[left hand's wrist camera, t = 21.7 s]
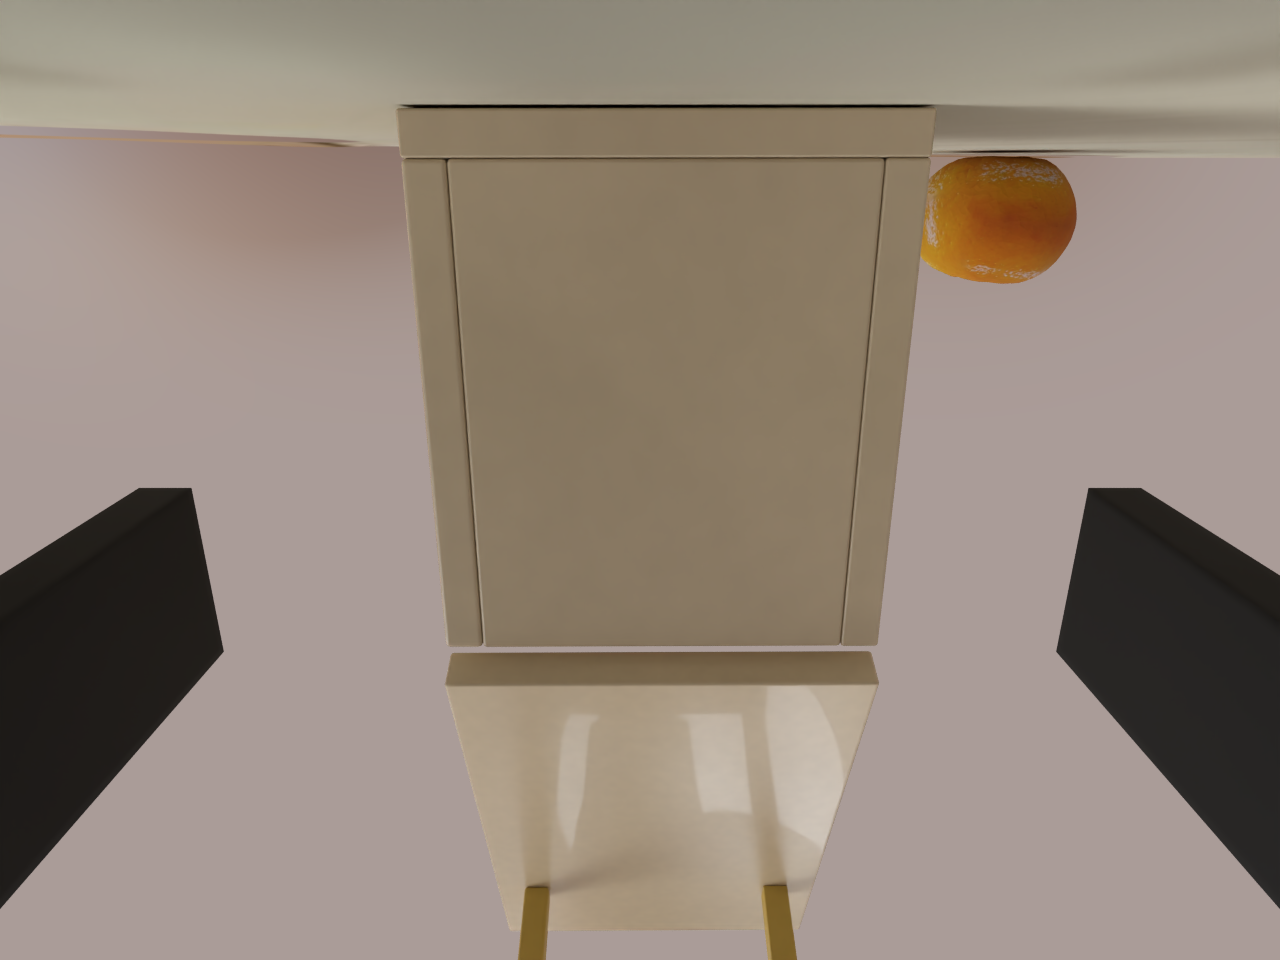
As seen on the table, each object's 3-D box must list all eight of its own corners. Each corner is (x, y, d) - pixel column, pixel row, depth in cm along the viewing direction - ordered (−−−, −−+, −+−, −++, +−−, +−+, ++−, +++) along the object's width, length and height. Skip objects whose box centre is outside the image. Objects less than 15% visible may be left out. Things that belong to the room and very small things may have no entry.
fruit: (862, 222, 49) (928, 334, 51) (989, 164, 41) (1060, 298, 43) (933, 153, 52) (992, 261, 54) (1062, 88, 45) (1124, 216, 47)
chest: (799, 137, 26) (780, 456, 30) (505, 137, 26) (522, 456, 30) (937, 107, 14) (877, 646, 18) (394, 107, 14) (445, 648, 18)
